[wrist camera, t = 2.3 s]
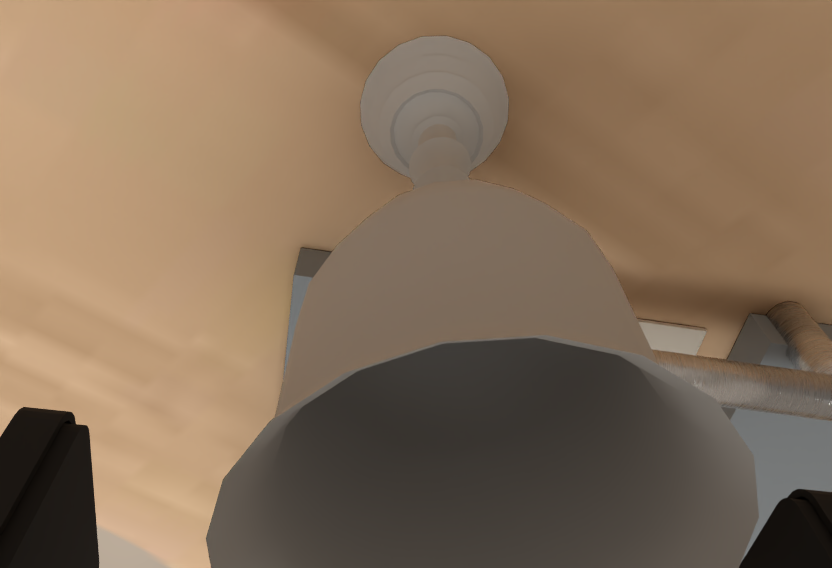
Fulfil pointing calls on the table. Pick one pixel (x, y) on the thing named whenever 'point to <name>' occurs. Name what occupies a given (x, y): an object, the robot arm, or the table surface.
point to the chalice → (476, 380)
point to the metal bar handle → (768, 371)
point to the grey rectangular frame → (762, 432)
